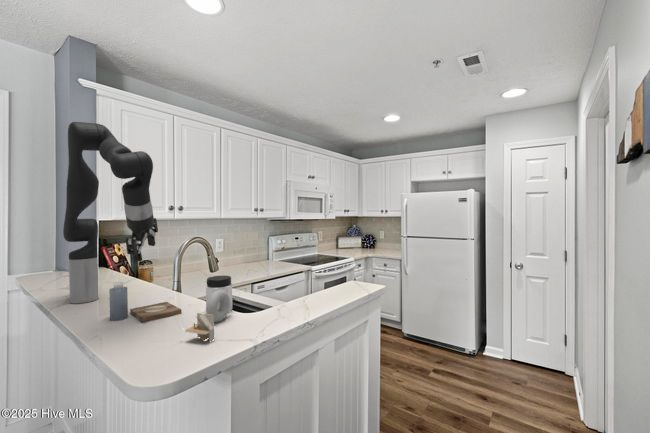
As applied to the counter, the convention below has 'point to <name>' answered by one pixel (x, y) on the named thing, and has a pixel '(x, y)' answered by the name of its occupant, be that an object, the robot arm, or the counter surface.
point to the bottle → (118, 302)
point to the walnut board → (155, 311)
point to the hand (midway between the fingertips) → (145, 252)
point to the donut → (213, 302)
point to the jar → (219, 287)
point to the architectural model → (203, 326)
